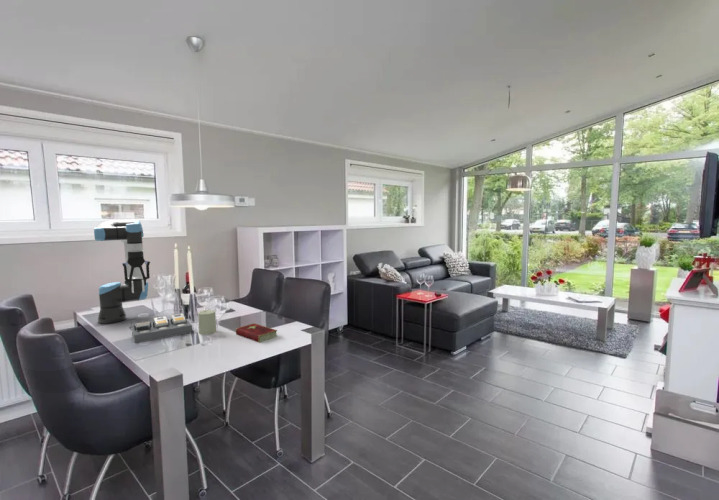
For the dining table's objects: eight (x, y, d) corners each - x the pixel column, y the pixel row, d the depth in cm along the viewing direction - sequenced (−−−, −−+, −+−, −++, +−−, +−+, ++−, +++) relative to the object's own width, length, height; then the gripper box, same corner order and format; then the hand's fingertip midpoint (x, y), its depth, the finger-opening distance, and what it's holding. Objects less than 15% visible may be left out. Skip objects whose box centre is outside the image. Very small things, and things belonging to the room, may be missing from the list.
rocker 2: (171, 317, 215) (171, 315, 215) (182, 315, 219) (182, 313, 218) (174, 323, 209) (174, 321, 209) (185, 321, 213) (185, 319, 212)
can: (212, 328, 216) (211, 308, 214) (219, 331, 209) (218, 311, 208) (196, 332, 209) (195, 311, 208) (202, 335, 203) (201, 314, 201)
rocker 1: (135, 326, 205) (135, 323, 205) (148, 324, 208) (147, 321, 208) (137, 326, 198) (136, 323, 198) (149, 324, 202) (149, 321, 202)
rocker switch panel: (131, 334, 205) (130, 322, 205) (186, 325, 222) (185, 314, 221) (134, 342, 193) (133, 330, 192) (192, 332, 209) (191, 320, 208)
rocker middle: (153, 320, 210) (153, 317, 210) (165, 318, 214) (165, 315, 213) (156, 326, 204) (156, 324, 204) (168, 324, 207) (168, 322, 207)
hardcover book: (259, 343, 191) (258, 335, 191) (235, 335, 204) (235, 327, 204) (277, 337, 201) (277, 329, 200) (254, 329, 214) (254, 322, 213)
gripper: (117, 252, 199) (120, 295, 202) (154, 250, 210) (156, 290, 212) (116, 251, 205) (119, 292, 208) (152, 249, 216) (154, 288, 218)
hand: (138, 291), depth 210 cm, fingers open, 4 cm apart
